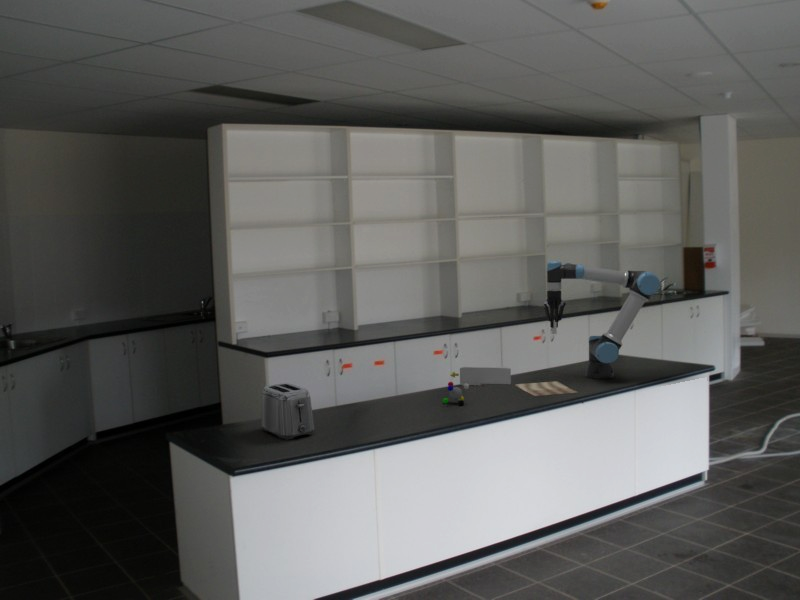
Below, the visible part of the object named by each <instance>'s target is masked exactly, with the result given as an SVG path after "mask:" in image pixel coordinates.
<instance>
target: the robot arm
mask: <svg viewBox="0 0 800 600" xmlns="http://www.w3.org/2000/svg"><path fill="white" fill-rule="evenodd" d="M576 279H577V280H584V281H585V280H586V281H590V282H591V281H593V282H598V283H605V284H612V285H619V286H622V288H626V289H628V292H629V295H628V297H627V298H626V299H625V302H624V303H623V305H622V307H621V308H620V310H619V312H618V313H617V315H616V316H615V319H614V321H613V322H612V324H611V325H610V327H609V329H608V330H607V331H606V332H605V333H602V335H591V336H589V337H588V363H587V367H586V370H585V377H586V378H590V379H594V380H595V379H598V380H599V379H601V380H605V379H606V380H607V379H612V378H614V370H613V367H612V363H614V362H615V361H616V360H617V359H618V358H619V355H620V354H619V353H620V349H621V348H622V346H623V343H622V340H623V339H624V337H625V335H626V334H627V332H628V331H629V329H630V327H631V326H632V323H633V322H634V320H635V319H636V317H637V316H638V313H639V312H640V310H641V308H642V307H643V306H644V304H645V302H648V301H650V299H652V296H653V295H654V294H656V293H657V292H658V290H660V286H661V284H660V279H659V277H658V276H657V275H656V274H655V273H654V272H651V271H645V270H628V269H626V270H624V271H623V270H614V269H609V268H607V269H606V268H602V267H596V266H587V265H583V264H575V263H574V264H573V263H569V262H566V263H563V264H562V261H559V260H557V261H554V260H553V261H552V260H550V261H548V262H547V267H546V289H547V291H546V297H547V298H546V301H545V302H544V303H542V307H543V309H544V313H545V316H546V317H545V318H546V320H547V321H548V322H549V323H550V326H549V327H550V328H551V334H553V335H557V329H558V328H559V322H560V321H562V318H563V313H564V310H565V307H566V305H567V303H566V302H564V301H563V299H562V280H576ZM548 306H549V307H548Z"/></svg>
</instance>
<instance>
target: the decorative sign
mask: <svg viewBox="0 0 800 600" xmlns="http://www.w3.org/2000/svg"><path fill="white" fill-rule="evenodd" d="M511 369H512V368H511V367H508V366H507V367H506V366H468V365H467V366H461V367H459V373H456V371H453V372H452V373H450V375H449V376H450V377H452V378H456V377H458V376H459V385H460V386H464V384H466V383H467V384H468V385H475V387H478V386H479V387H485V385H511V384H512V383H511V382H512V376H511V375H512V372H511V371H512V370H511ZM475 382H476V383H475ZM476 385H478V386H476Z"/></svg>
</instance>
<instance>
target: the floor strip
mask: <svg viewBox="0 0 800 600" xmlns="http://www.w3.org/2000/svg"><path fill="white" fill-rule="evenodd" d="M527 393H528V394H529V395H532V396H534V397H537V396H548V395H549V396H551V395H561V394H562V395H563V394H574V393H578V394H579V391H577V390H575V389H572V388H570V387H568V388H566V389H553V390H540V391H527Z"/></svg>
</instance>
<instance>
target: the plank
mask: <svg viewBox="0 0 800 600" xmlns="http://www.w3.org/2000/svg"><path fill="white" fill-rule="evenodd" d="M514 387H516V388H518V389H520V390H522V391H524V392H526V393H528V391H541V390H554V389H566V388H569V387H568V386H566V385H565V384H563V383H561V382H559V381H556V380H555V381H544V382H542V381H541V382H529V383H518V384H517V383H516V384H515V385H514Z"/></svg>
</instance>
